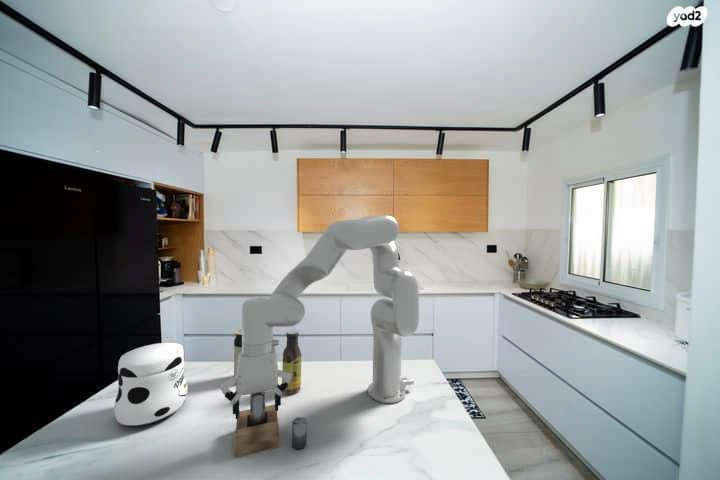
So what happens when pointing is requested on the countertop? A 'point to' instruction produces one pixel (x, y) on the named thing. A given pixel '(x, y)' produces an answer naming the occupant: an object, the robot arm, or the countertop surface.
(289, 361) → the sauce bottle
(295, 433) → the short pin
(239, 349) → the travel mug
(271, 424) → the hole block
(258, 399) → the long pin
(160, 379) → the milk container
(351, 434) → the countertop surface
